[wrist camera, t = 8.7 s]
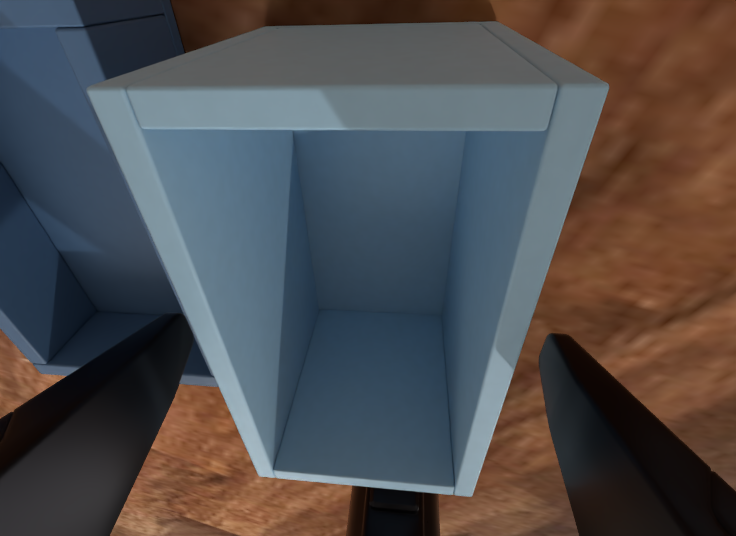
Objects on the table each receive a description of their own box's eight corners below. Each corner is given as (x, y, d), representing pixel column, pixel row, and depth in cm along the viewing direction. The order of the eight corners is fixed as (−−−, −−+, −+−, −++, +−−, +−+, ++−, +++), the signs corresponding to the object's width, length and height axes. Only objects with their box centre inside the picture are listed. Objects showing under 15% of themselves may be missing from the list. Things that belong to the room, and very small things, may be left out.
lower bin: (262, 323, 20) (233, 388, 17) (97, 314, 21) (40, 374, 18) (164, -21, 11) (65, -19, 8) (-115, -10, 12) (-303, -5, 9)
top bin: (452, 317, 18) (472, 497, 12) (310, 309, 19) (258, 477, 13) (498, 21, 11) (612, 83, 5) (264, 25, 12) (82, 87, 5)
